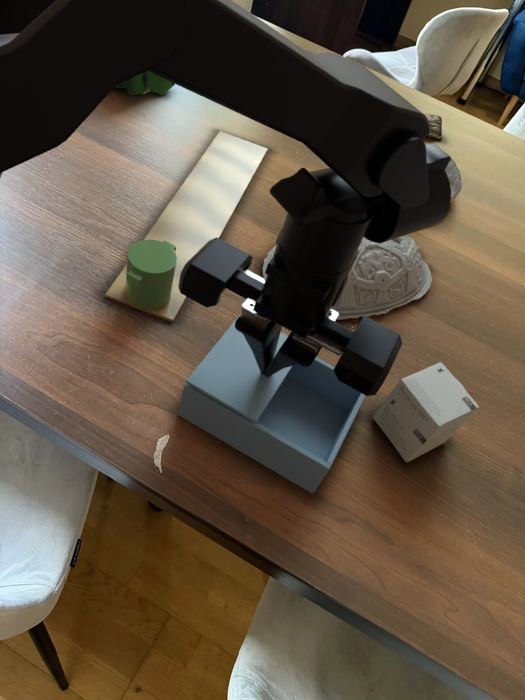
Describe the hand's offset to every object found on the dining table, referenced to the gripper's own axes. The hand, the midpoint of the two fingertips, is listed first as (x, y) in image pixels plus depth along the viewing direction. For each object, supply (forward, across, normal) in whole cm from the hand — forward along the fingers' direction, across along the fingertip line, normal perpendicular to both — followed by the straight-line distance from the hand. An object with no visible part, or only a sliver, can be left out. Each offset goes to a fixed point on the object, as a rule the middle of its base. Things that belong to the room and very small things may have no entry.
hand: (266, 372), depth 55 cm
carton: (+6, -2, 0) cm, 6 cm away
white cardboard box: (+6, -15, -7) cm, 18 cm away
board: (+6, +20, -23) cm, 31 cm away
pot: (+5, +17, -6) cm, 19 cm away
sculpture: (+6, +45, -43) cm, 63 cm away
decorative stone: (+6, -3, -51) cm, 52 cm away
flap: (0, +2, 0) cm, 2 cm away
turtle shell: (+6, -1, -26) cm, 27 cm away
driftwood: (+6, +10, -68) cm, 68 cm away
